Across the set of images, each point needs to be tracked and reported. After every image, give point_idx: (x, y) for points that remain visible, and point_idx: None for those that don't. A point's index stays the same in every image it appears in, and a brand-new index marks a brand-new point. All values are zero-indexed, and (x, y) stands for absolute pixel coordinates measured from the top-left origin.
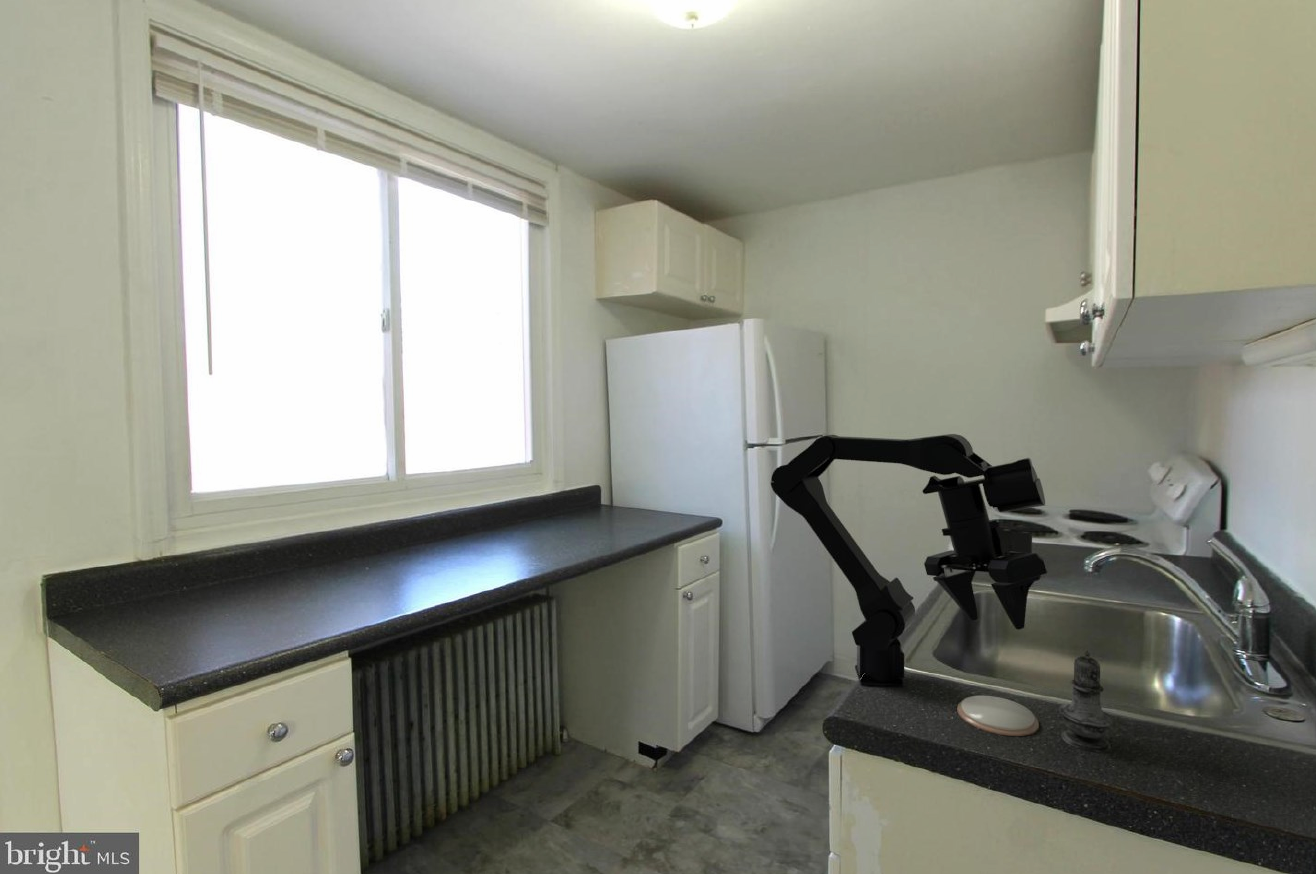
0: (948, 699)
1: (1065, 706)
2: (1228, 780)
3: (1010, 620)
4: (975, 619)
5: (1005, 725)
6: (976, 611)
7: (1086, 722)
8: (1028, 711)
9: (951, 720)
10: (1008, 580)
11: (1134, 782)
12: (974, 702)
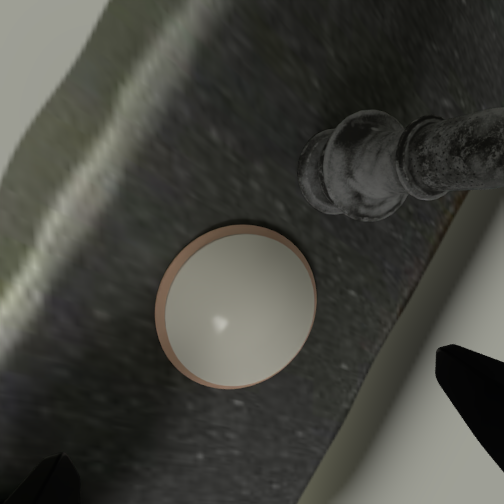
0: (147, 389)
1: (347, 196)
2: (451, 11)
3: (475, 436)
4: (69, 464)
5: (309, 321)
6: (42, 499)
7: (405, 194)
8: (252, 240)
9: (250, 406)
10: None
11: None
12: (206, 350)
